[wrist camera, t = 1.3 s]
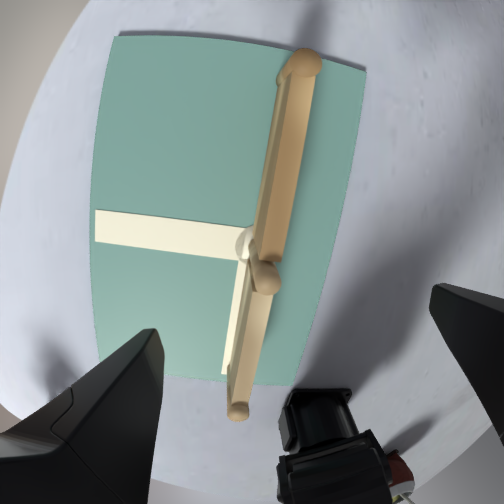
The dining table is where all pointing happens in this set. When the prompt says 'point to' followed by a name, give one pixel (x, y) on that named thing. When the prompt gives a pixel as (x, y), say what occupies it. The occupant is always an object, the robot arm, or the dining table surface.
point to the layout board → (208, 199)
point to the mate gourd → (400, 479)
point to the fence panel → (284, 152)
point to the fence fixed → (250, 331)
